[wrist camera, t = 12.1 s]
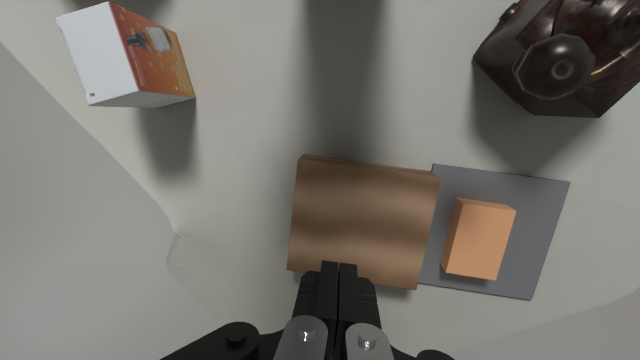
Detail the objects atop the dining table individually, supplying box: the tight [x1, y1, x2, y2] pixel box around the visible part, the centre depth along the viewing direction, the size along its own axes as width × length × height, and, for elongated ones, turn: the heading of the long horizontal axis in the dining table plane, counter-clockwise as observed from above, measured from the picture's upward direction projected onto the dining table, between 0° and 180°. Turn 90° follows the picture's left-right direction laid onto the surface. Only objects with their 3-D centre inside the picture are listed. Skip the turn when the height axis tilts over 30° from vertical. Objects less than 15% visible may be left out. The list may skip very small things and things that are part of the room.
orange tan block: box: [440, 197, 517, 280], centre depth 36 cm, size 9×6×2 cm, turn 173°
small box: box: [56, 1, 195, 108], centre depth 32 cm, size 8×6×10 cm
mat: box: [418, 164, 571, 300], centre depth 38 cm, size 16×16×1 cm
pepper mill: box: [473, 0, 640, 118], centre depth 25 cm, size 16×11×18 cm
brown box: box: [287, 154, 441, 290], centre depth 37 cm, size 14×16×4 cm
